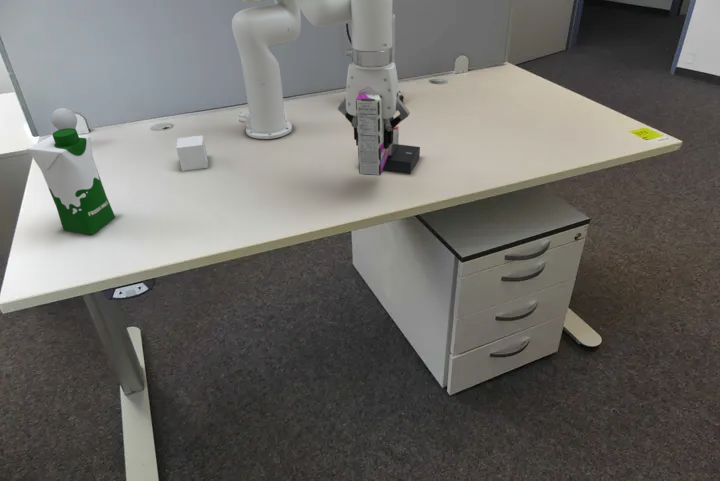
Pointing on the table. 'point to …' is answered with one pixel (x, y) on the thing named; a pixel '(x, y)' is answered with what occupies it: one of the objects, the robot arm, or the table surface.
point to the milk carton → (73, 181)
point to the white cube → (192, 153)
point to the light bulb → (64, 119)
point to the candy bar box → (370, 134)
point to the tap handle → (394, 141)
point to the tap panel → (403, 159)
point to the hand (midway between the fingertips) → (373, 144)
